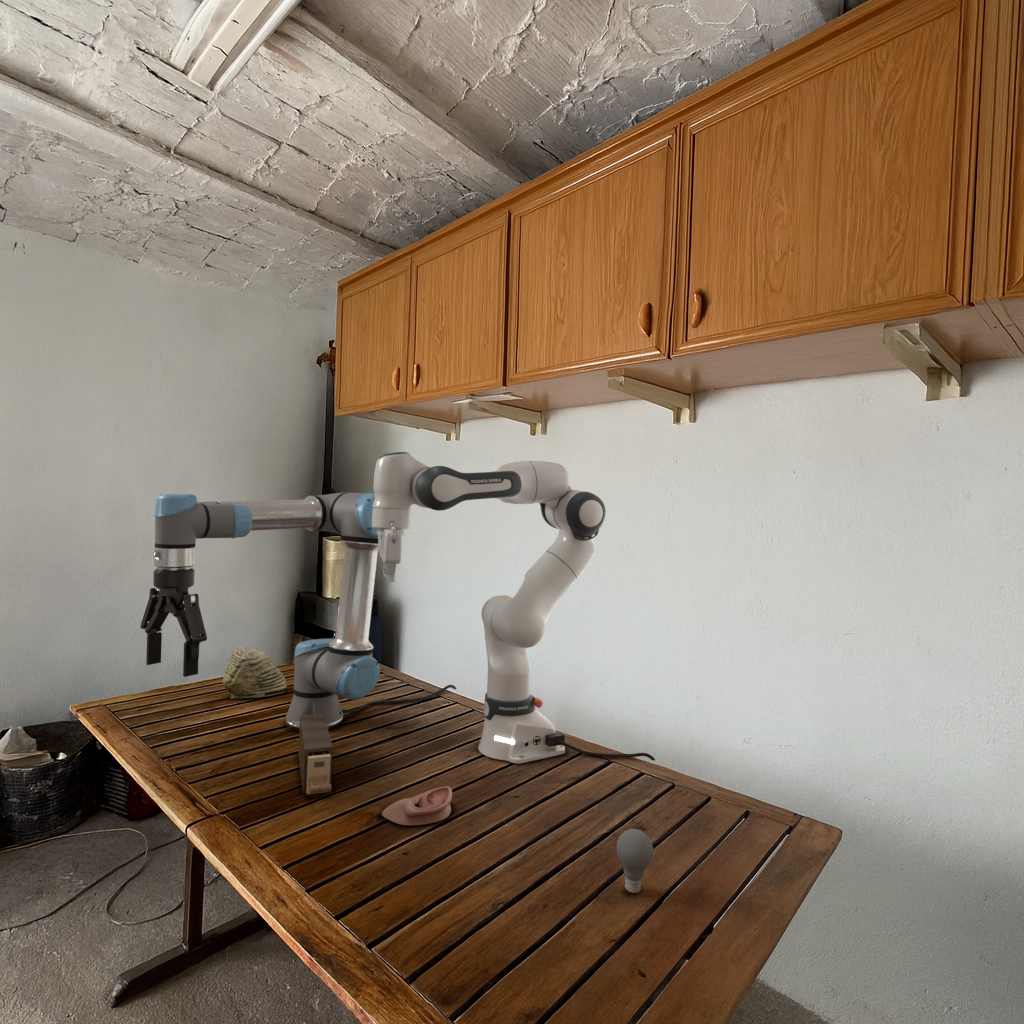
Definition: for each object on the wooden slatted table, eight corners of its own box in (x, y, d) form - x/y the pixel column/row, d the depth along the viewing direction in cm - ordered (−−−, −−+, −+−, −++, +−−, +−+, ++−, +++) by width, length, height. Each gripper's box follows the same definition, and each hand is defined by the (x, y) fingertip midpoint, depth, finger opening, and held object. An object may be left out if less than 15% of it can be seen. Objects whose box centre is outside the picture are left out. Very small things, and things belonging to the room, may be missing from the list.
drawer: (331, 805, 128) (333, 768, 128) (308, 808, 127) (310, 770, 127) (321, 754, 153) (322, 722, 153) (302, 756, 152) (303, 724, 151)
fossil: (218, 695, 195) (220, 647, 195) (278, 685, 208) (279, 640, 207) (228, 703, 189) (230, 653, 188) (289, 692, 201) (290, 645, 201)
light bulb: (610, 879, 108) (613, 822, 108) (644, 879, 109) (647, 822, 109) (619, 902, 102) (622, 840, 102) (655, 901, 103) (658, 840, 103)
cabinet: (330, 790, 137) (332, 746, 137) (303, 793, 135) (304, 749, 135) (322, 751, 157) (324, 713, 157) (298, 753, 155) (299, 715, 155)
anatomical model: (375, 801, 124) (398, 776, 135) (375, 821, 124) (397, 795, 136) (440, 811, 122) (457, 785, 133) (439, 831, 122) (456, 803, 133)
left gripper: (124, 563, 135) (121, 662, 135) (192, 575, 122) (188, 684, 122) (159, 561, 141) (156, 655, 142) (227, 572, 128) (224, 676, 129)
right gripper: (409, 523, 140) (406, 585, 140) (400, 519, 159) (398, 574, 160) (380, 522, 138) (377, 585, 138) (375, 518, 158) (372, 573, 158)
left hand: (171, 669), depth 132 cm, fingers open, 13 cm apart
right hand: (388, 579), depth 149 cm, fingers open, 8 cm apart
